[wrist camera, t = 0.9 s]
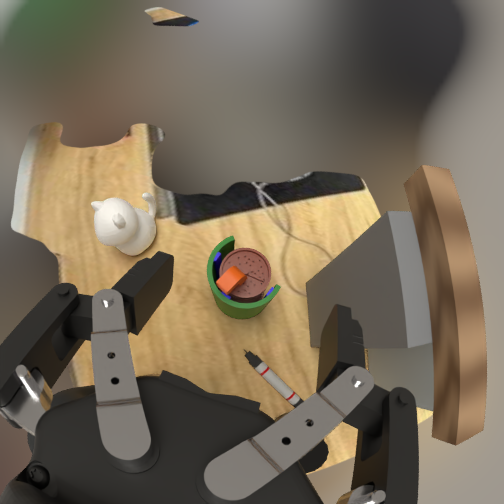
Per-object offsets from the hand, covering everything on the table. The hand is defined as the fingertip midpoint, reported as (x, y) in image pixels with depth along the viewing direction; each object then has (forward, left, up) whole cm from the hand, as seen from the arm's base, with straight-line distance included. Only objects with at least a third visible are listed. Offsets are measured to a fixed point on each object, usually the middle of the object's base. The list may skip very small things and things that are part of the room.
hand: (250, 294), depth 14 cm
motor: (+5, +4, -39) cm, 40 cm away
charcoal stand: (+13, -12, -39) cm, 43 cm away
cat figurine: (+2, +27, -39) cm, 48 cm away
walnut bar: (+10, -14, -7) cm, 19 cm away
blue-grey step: (+11, -27, -39) cm, 49 cm away
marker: (-4, -10, -40) cm, 41 cm away
